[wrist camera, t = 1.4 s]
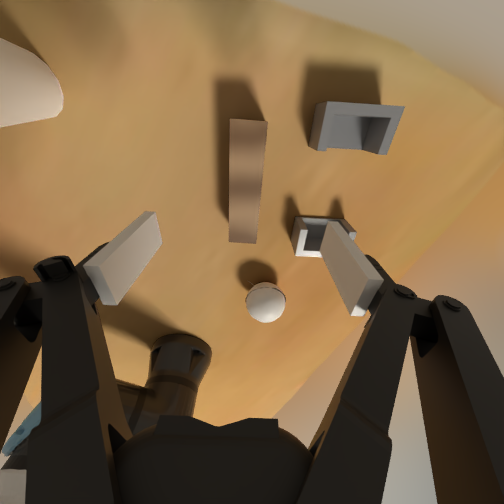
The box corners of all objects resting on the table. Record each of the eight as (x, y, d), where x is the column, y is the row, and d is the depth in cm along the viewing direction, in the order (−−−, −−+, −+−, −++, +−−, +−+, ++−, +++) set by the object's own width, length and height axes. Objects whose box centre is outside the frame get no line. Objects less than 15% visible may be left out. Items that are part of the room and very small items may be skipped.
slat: (255, 228, 34) (256, 243, 29) (231, 226, 33) (228, 242, 29) (265, 121, 25) (267, 121, 21) (233, 118, 25) (229, 118, 21)
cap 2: (336, 243, 35) (346, 258, 31) (290, 240, 35) (295, 255, 31) (344, 219, 32) (356, 232, 29) (295, 216, 32) (300, 229, 28)
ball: (287, 295, 42) (293, 325, 36) (253, 304, 43) (253, 334, 37) (273, 258, 37) (277, 286, 31) (235, 269, 38) (232, 298, 32)
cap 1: (315, 103, 24) (327, 101, 20) (381, 108, 24) (405, 106, 21) (308, 146, 27) (317, 150, 23) (367, 149, 27) (386, 154, 23)
